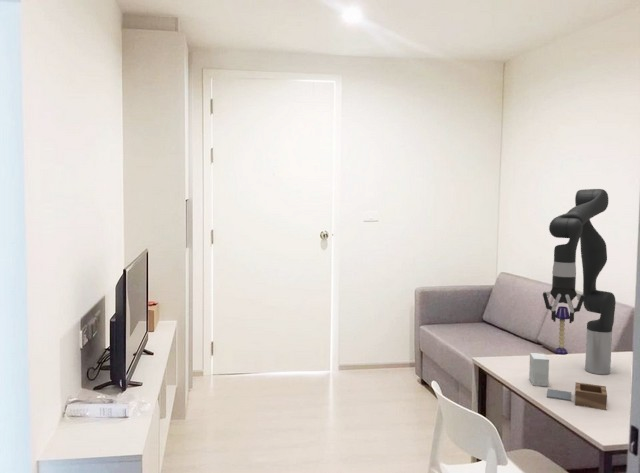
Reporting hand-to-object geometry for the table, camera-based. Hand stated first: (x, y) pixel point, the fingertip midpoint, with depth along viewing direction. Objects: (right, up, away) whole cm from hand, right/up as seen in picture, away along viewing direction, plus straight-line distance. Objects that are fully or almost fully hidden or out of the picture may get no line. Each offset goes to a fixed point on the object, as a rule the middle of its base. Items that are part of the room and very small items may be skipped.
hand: (562, 321), depth 193 cm
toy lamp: (0, -12, +1) cm, 12 cm away
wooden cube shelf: (+8, -27, -4) cm, 29 cm away
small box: (-2, -26, +16) cm, 31 cm away
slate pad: (0, -27, +2) cm, 27 cm away
